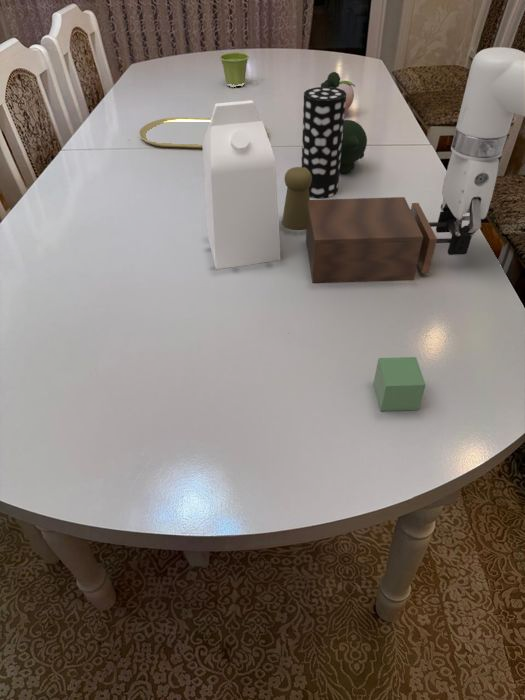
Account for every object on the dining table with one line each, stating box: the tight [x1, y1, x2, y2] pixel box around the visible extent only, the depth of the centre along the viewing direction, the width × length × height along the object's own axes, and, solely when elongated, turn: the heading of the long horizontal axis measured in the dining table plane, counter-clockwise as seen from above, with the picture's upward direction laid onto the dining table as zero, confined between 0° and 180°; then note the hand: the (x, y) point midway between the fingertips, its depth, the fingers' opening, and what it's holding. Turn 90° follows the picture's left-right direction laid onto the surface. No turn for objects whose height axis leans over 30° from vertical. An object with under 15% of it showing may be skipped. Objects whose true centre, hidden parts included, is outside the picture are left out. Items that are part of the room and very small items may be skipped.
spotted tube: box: [300, 86, 346, 199], centre depth 104 cm, size 8×8×20 cm
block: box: [373, 356, 426, 412], centre depth 66 cm, size 5×5×5 cm
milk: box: [202, 99, 281, 270], centre depth 86 cm, size 12×12×26 cm
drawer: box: [410, 202, 456, 274], centre depth 88 cm, size 23×12×7 cm, turn 91°
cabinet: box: [305, 196, 423, 284], centre depth 88 cm, size 18×14×9 cm
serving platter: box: [138, 116, 269, 149], centre depth 134 cm, size 19×35×2 cm, turn 82°
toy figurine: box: [320, 71, 368, 174], centre depth 116 cm, size 9×19×25 cm
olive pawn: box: [281, 166, 312, 231], centre depth 97 cm, size 6×6×11 cm
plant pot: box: [219, 52, 250, 89], centre depth 164 cm, size 9×9×9 cm
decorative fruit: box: [337, 80, 356, 112], centre depth 141 cm, size 9×8×10 cm
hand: (450, 241), depth 89 cm, fingers closed on drawer, 6 cm apart
